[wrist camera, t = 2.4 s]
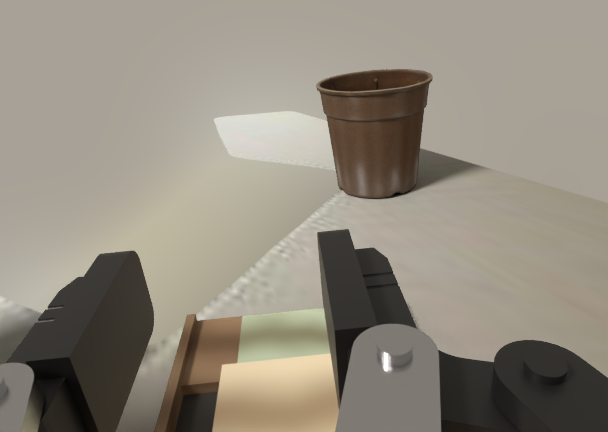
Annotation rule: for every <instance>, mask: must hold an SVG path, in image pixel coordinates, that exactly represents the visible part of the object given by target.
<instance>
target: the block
mask: <svg viewBox="0 0 608 432" xmlns="http://www.w3.org/2000/svg"><path fill="white" fill-rule="evenodd" d="M338 414H339V407H338V401H337V394H336V387H335V380H334V374H333V367H332V360H331V354H320V355H311V356H301V357H292V358H282V359H272V360H263V361H253V362H243V363H234V364H224V365H222V369H221V376H220V382H219V389H218V396H217V402H216V409H215V416H214V423H213V429H212V432H335V429H336V424H337V419H338Z"/></svg>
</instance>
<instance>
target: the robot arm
mask: <svg viewBox="0 0 608 432" xmlns="http://www.w3.org/2000/svg"><path fill="white" fill-rule="evenodd" d="M317 236H318V249H319V261H320V273H321V285H322V296H323V305H324V313H325V320H326V327H327V333H328V340H329V347H330V354H331V360H332V367H333V374H334V380H335V387H336V394H337V401H338V407H339V414H338V419H337V424H336V429H335V432H608V378H607V377H606V376H605V375H603V374H602V373H600V372H599V371H598V370H596V369H595V368H594V367H592V366H591V365H590V364H588V363H587V362H586V361H584V360H583V359H582V358H580V357H579V356H577V355H576V354H574V353H573V352H571V351H569V350H567V349H565V348H563V347H560V346H558V345H555V344H551V343H548V342H543V341H535V340H522V341H516V342H512V343H509V344H507V345H505V346H504V347H502V348H501V349H500V350H499V351H498V352H497V354H496V356H495V359H494V362H487V361H479V360H472V359H465V358H459V357H455V356H452V355H448V354H446V353H444V352H441V351H439V350H438V349H437V346H436V344H435V343H434V341H433V340H432V339H431V338H430V337H429V336H428V335H426V334H425V333H424V332H422V331H420V330H418V329H417V328H416V325H415V323H414V321H413V318H412V316H411V314H410V311H409V309H408V306H407V304H406V302H405V299H404V297H403V294H402V292H401V290H400V287H399V286H398V283H397V280H396V278H395V275H393V271H392V268H391V266H390V263H389V261H388V259H387V258H386V257H385V256H384V255H382V254H381V253H380V252H378V251H377V250H376V249H375V248H365V249H354V245H353V242H352V239H351V236H350V232H349V230H348V229H345V230H335V231H326V232H317ZM38 320H39V322H38V323H35V325H34V326H33V327H32V329H31V330H30V331H29V333H28V334H27V336H26V337H25V338H24V340H23V341H22V342H21V344H20V345H19V346H18V348H17V349H16V350H15V352H14V353H13V354H12V356H11V357H10V359H9V360H8V361H7V363H5V364H0V432H116V429H117V426H118V423H119V421H120V418H121V415H122V413H123V410H124V407H125V405H126V402H127V399H128V396H129V394H130V391H131V388H132V386H133V383H134V380H135V378H136V375H137V372H138V370H139V367H140V364H141V361H142V359H143V356H144V353H145V351H146V348H147V345H148V343H149V339H150V337H151V335H152V331H153V326H154V312H153V306H152V302H151V299H150V295H149V291H148V288H147V284H146V281H145V277H144V273H143V270H142V266H141V263H140V259H139V257H138V255H137V253H136V252H135V251H125V252H115V253H105V254H100V255H99V256H98V257H97V258H96V260H95V261H94V263H93V264H92V266H91V267H90V268H89V270H88V271H87V273H86V274H85V276H84V277H78V278H76V279H75V280H74V281H72V282H71V283H70V284H68V285H67V286H66V287H64V288H63V289H62V290H60V291H59V292H58V294H57V295H56V296H55V298H54V299H53V300H52V302H51V303H50V304H49V306H48V310H45V311H44V312H43V314H42V315H41V317H40V318H39V319H38Z"/></svg>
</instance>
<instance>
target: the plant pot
mask: <svg viewBox="0 0 608 432" xmlns="http://www.w3.org/2000/svg"><path fill="white" fill-rule="evenodd" d="M432 78H433V76H432V75H431V74H430V73H428V72H425V71H419V70H409V69H392V70H372V71H362V72H355V73H349V74H343V75H338V76H334V77H330V78H327V79H324V80H322V81H320V82H318V83H317V85H316V87H317V90H318V91H320V94H321V99H322V105H323V110H324V113H325V114H326V115H327V121H328V127H329V133H330V138H331V144H332V150H333V156H334V162H335V168H336V173H337V180H338V186H339V188H340V189H343V190H344V191H345V193H346V194H349V195H352V196H357V197H361V198H385V197H391V196H392V195H393V194H394V193H396V192H399V193H401V194H402V193H405V192H407V191H409V190H411V189H412V188H413V187H414V186H415V185H416V182H417V174H418V162H419V151H420V141H421V132H422V122H423V114H424V108H425V107H426V105H427V96H428V88H429V83H430V82H431V81H432Z"/></svg>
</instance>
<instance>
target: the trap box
mask: <svg viewBox="0 0 608 432" xmlns="http://www.w3.org/2000/svg"><path fill="white" fill-rule="evenodd" d="M320 354H330V347H329V340H328V333H327V327H326V320H325V313H324V308H318V309H309V310H299V311H289V312H279V313H270V314H260V315H250V316H240V317H231V318H221V319H211V320H201V321H197V319H196V315H195V314H191V315H187V318H186V322H185V325H184V328H183V332H182V335H181V339H180V343H179V346H178V350H177V353H176V357H175V360H174V364H173V367H172V371H171V375H170V378H169V382H168V385H167V389H166V392H165V396H164V399H163V403H162V407H161V410H160V414H159V417H158V421H157V424H156V428H155V431H154V432H212V429H213V423H214V416H215V409H216V402H217V396H218V389H219V382H220V376H221V369H222V365H224V364H234V363H243V362H253V361H263V360H272V359H282V358H292V357H301V356H311V355H320Z"/></svg>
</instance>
